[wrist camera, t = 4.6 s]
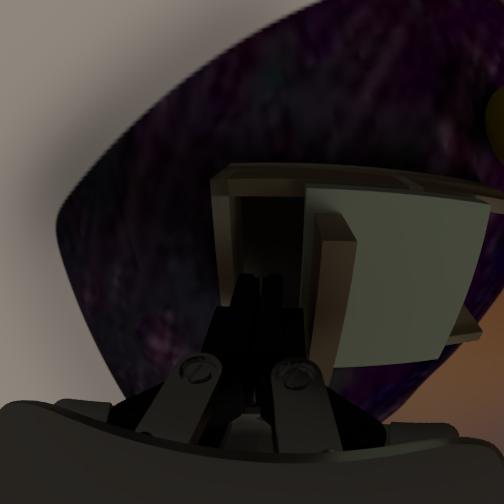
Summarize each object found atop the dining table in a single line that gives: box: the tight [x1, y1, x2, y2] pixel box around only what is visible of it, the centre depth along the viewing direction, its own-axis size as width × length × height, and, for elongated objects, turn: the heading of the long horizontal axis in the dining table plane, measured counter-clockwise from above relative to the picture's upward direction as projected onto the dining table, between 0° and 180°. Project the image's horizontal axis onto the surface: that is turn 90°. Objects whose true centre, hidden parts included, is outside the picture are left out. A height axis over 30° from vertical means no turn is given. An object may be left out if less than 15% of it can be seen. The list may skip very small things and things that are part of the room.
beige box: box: [210, 163, 504, 345], centre depth 14 cm, size 9×16×4 cm, turn 92°
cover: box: [299, 183, 491, 387], centre depth 10 cm, size 9×8×3 cm
